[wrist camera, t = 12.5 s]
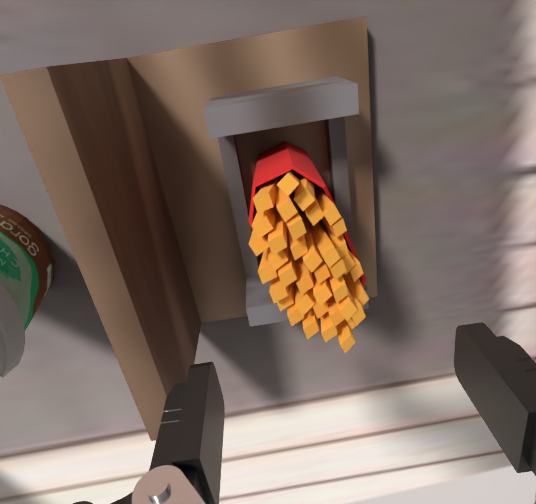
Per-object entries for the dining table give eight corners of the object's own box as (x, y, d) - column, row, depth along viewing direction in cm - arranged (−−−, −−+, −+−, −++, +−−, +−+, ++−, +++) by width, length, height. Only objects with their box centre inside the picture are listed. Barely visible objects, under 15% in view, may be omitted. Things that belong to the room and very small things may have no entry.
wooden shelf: (175, 316, 35) (141, 442, 24) (96, 63, 26) (-17, 77, 15) (372, 286, 35) (430, 401, 24) (360, 17, 26) (445, -3, 15)
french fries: (342, 228, 31) (398, 341, 19) (289, 252, 31) (313, 374, 20) (291, 112, 27) (322, 165, 15) (232, 142, 27) (220, 214, 16)
